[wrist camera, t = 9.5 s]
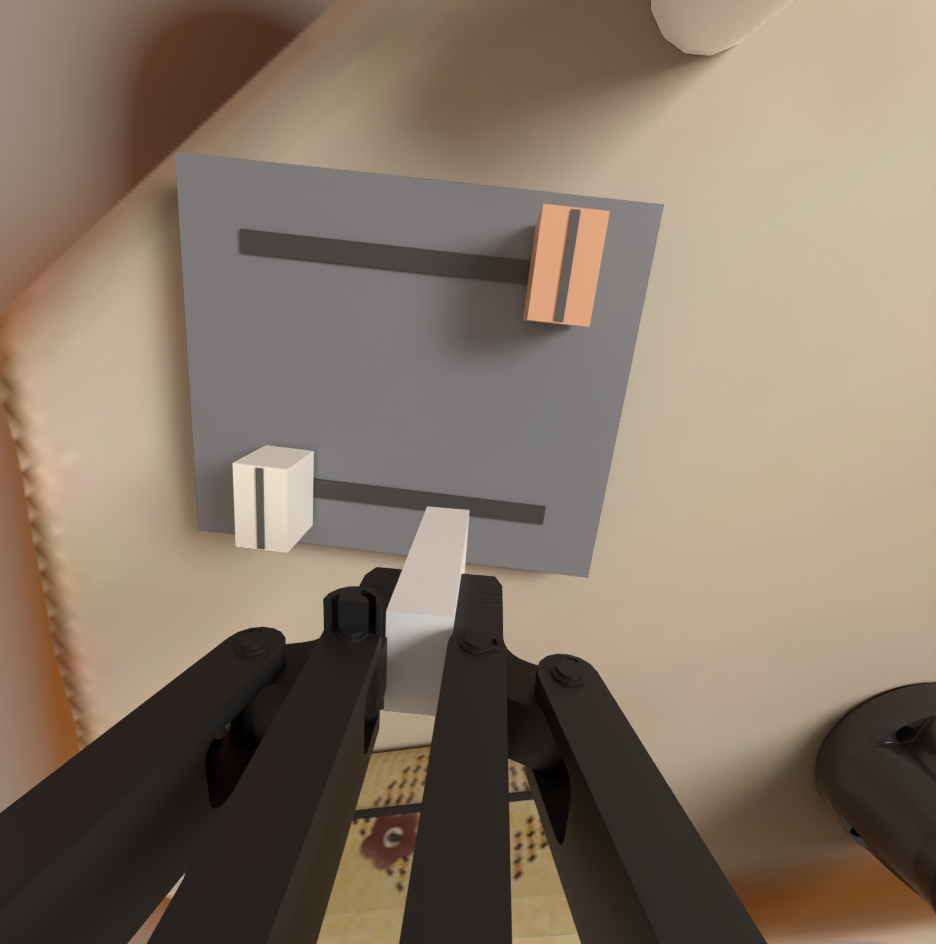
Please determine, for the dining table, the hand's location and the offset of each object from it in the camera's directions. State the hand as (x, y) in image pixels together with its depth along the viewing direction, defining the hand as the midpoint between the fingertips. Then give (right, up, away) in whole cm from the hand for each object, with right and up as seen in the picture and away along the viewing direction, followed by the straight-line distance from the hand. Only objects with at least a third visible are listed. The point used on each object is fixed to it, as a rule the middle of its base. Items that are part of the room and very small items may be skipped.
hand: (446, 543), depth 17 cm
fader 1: (-10, +2, +13) cm, 17 cm away
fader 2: (+6, +13, +9) cm, 17 cm away
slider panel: (-3, +8, +14) cm, 17 cm away
